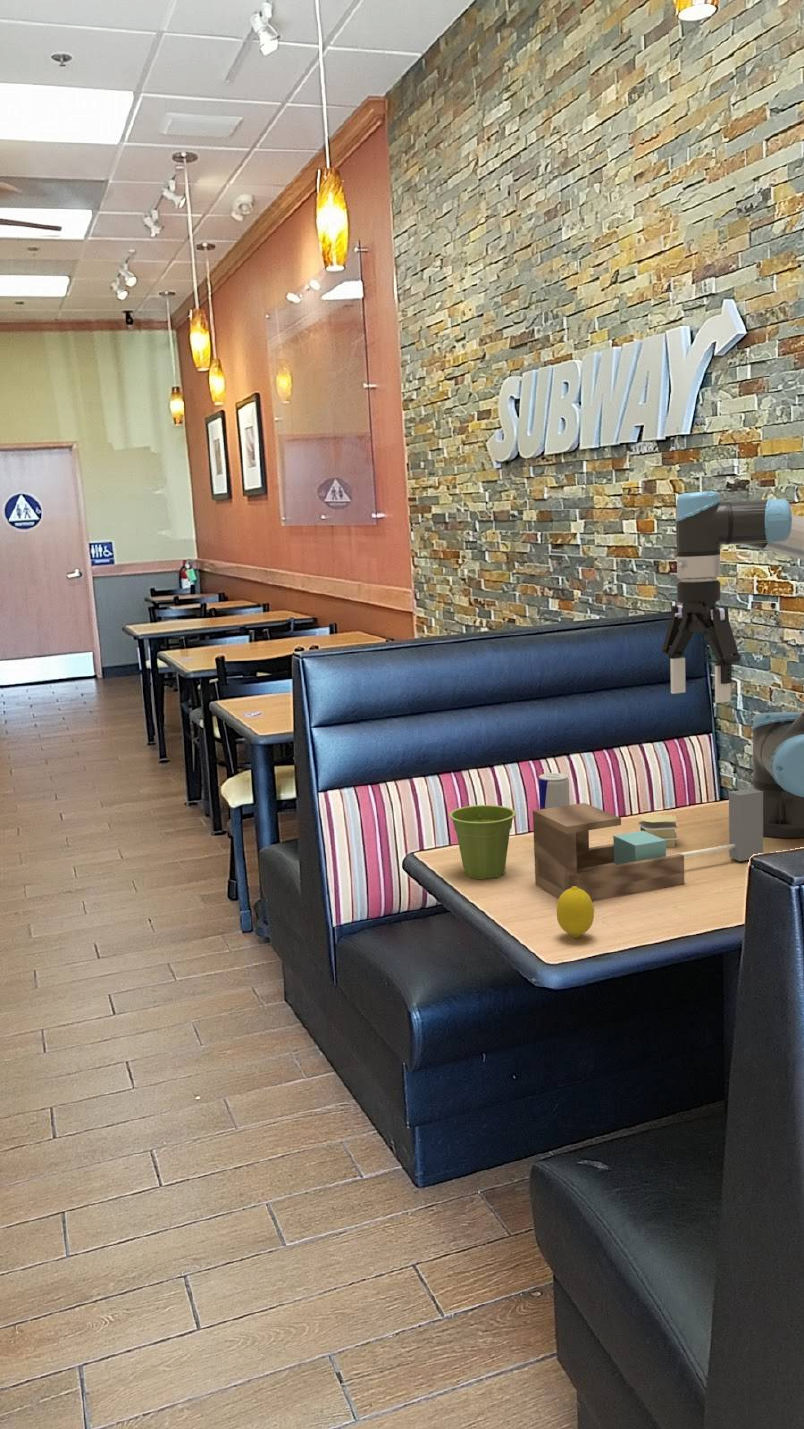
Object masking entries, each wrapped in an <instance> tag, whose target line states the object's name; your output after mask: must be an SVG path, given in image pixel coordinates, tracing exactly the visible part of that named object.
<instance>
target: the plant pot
mask: <svg viewBox="0 0 804 1429" xmlns="http://www.w3.org/2000/svg"><path fill="white" fill-rule="evenodd" d="M516 814H517V813H516V810H514V809H512V808H511V807H507V806H503V805H495V804H494V805H493V804H478V805H477V804H476V805H468V806H467V805H466V806H464V807H459V808H456V809H453V810H452V811H450V812H449V814H448V817H449V818H450V819H451V820H452V823H453V828H454V831H455V833H456V838H457V842H458V846H459V847H458V848H459V852H460V857H461V862H462V863H461V864H462V868H463V873H464V874H465V875H466V876H467V877H469V878H471V879H478V880H487V879H488V878H494V879H496V878H499V877H502V876H503V875H504V873H505V871H506V863H507V854H508V847H509V840H510V835H511V834H510V832H511V829H512V826H513V820H514V818H515V817H516Z"/></svg>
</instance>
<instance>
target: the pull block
mask: <svg viewBox="0 0 804 1429" xmlns="http://www.w3.org/2000/svg"><path fill="white" fill-rule="evenodd" d="M728 825H729V826H728V834H729V835H728V842H729V844H725V845H719V846H714V847H713V846H712V847H708V848H703V849H697V850H696V849H695V850H690V851H685V852H684V851H683V852H679V853H677V854H682V855H684V858H686V857H692V856H697V855H698V856H699V855H704V854H710V853H716V852H721V851H727V850H729V856H728V857H729V858H731V859H734V860H736V861H738V862H743V861H747V860H748V861H749V860H750V859H749V858H750V857H751V856H752V855H753V854H758V853H763V854H764V835H763V791H759V790H756V789H753V787H752V788H745V789H740V790H733V791H728ZM612 836H613V837H612V838H613V844H614V864H616V865H618V864H623V863H629V862H635V861H641V860H646V859H652V858H658V857H664V856H669V855H670V854H669V855H667V847H666V840H664V839H662V838H659V837H657V836H655V835H652V834H650V833H647V832H645V831H641V830H639V831H632V832H627V833H621V834H615V835H612ZM675 854H676V853H673V854H672V855H675Z"/></svg>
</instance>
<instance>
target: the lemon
mask: <svg viewBox="0 0 804 1429" xmlns="http://www.w3.org/2000/svg"><path fill="white" fill-rule="evenodd" d="M557 899H558V898H557ZM556 904H557V905H556V919H557V923H558V925H559V927H560V928H561V929H562V930H563V931H564V932H565V933H567V934H570V935H571V936H572V937H573V938H574V939H575V938H576V939H577V938H579V937H580V936H581V935H582V934H585V933H586V932H588V931H589V930H590V928H591V927H592V925H593V922H594V918H595V909H594V904H593V901H592V900H591V898H590V896H589V895H588V894H587V893H586V892H585V891H584V890H582V889H579V888H577V887H576V886H572V888H570V889H567V890H566V891H564V892H563V893H562V894H561V896H560V897H559V899H558V900H557V903H556Z"/></svg>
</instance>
